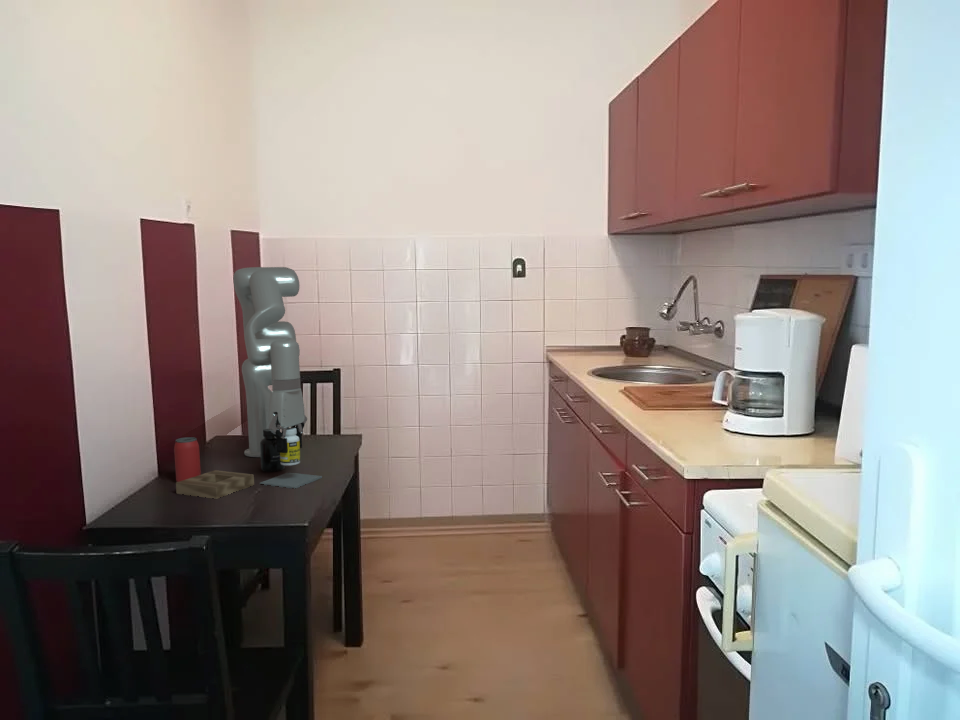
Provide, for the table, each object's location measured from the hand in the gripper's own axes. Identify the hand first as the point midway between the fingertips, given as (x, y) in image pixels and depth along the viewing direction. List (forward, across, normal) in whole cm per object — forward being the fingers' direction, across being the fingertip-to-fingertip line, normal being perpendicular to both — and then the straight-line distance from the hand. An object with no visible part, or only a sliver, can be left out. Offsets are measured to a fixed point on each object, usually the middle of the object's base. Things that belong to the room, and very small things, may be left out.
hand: (289, 449), depth 210 cm
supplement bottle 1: (+9, -9, -14) cm, 19 cm away
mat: (+9, 0, 0) cm, 9 cm away
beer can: (+9, +10, -28) cm, 31 cm away
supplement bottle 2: (+4, 0, 0) cm, 4 cm away
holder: (+9, +14, -14) cm, 22 cm away
